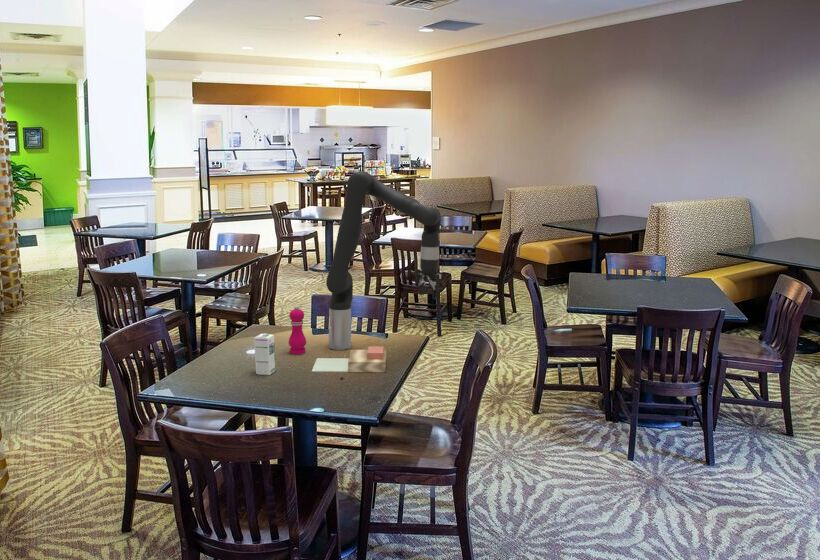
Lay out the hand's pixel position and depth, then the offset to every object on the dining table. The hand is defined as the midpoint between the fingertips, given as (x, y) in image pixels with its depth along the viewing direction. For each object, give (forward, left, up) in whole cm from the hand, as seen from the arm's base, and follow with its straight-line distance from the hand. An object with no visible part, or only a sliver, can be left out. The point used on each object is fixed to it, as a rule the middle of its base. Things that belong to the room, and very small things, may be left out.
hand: (428, 296), depth 281 cm
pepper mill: (-54, +1, -24) cm, 59 cm away
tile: (-21, -16, -19) cm, 33 cm away
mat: (-38, -16, -24) cm, 48 cm away
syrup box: (-62, -25, -25) cm, 71 cm away
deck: (-24, -16, -24) cm, 38 cm away
